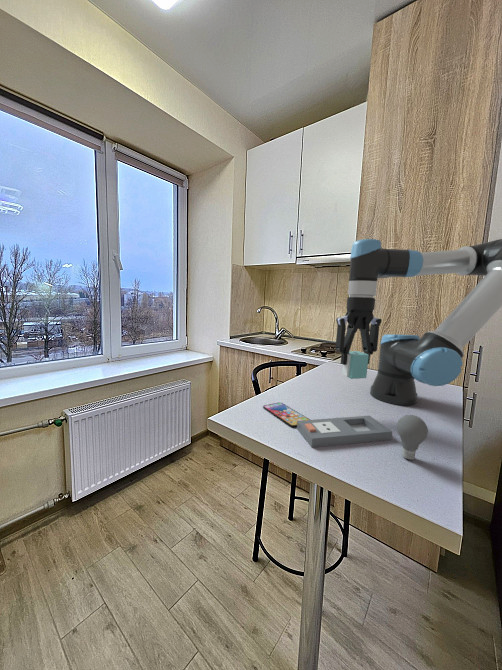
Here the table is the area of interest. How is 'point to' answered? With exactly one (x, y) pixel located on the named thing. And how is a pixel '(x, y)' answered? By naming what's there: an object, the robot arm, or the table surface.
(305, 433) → the power strip
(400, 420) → the light bulb
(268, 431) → the table surface
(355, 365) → the block
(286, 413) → the smartphone
